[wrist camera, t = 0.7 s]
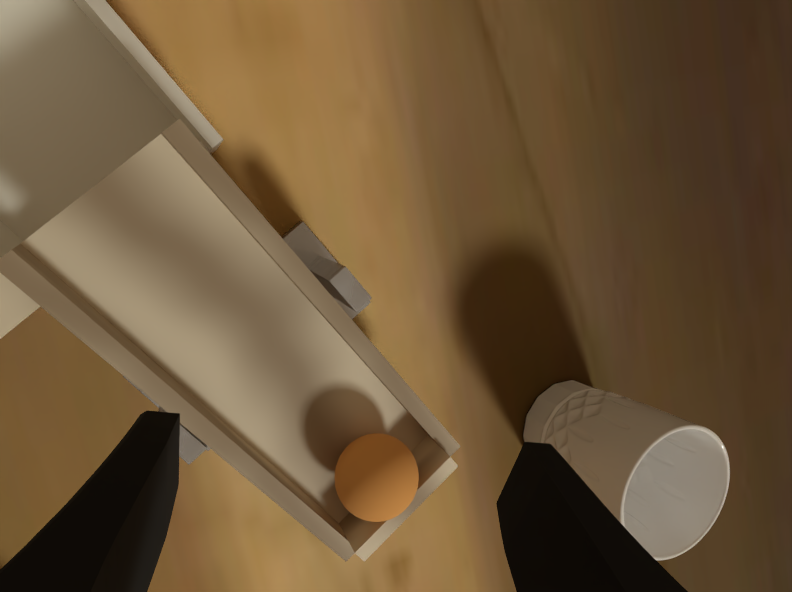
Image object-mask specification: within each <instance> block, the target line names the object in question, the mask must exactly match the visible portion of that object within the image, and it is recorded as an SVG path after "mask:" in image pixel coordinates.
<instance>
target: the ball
mask: <svg viewBox="0 0 792 592" xmlns="http://www.w3.org/2000/svg"><path fill="white" fill-rule="evenodd" d="M334 478H335V487H336V491H337V494H338V497H339V499H340V501H341V502H342V504H343V505H344V507H345V508H346V509H347V510H348V511H349V512H350V513H352V514H353V515H354V516H356V517H358V518H360V519H363V520H366V521H371V522H381V521H387V520H390V519H392V518H394V517H396V516H398V515H399V514H401V513H402V512H403V511H404V510H405V509H406V508H407V507H408V506H409V505H410V503H411V502H412V500H413V499H414V497H415V494H416V491H417V488H418V481H419V473H418V467H417V463H416V460H415V458H414V456H413V454H412V452H411V451H410V450H409V448H408V447H407V446H406V445H405V444H404V443H403V442H401V441H400V440H398V439H397V438H395V437H393V436H390V435H387V434H381V433H373V434H367V435H364V436H361V437H359V438H357V439H356V440H354V441H353V442H351V443H350V444H349V445H348V446H347V447H346V448H345V449H344V451H343V452H342V454H341V455H340V457H339V459H338V462H337V465H336V469H335V477H334Z"/></svg>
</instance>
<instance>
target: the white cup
mask: <svg viewBox="0 0 792 592" xmlns="http://www.w3.org/2000/svg"><path fill="white" fill-rule="evenodd" d="M523 438H524V442H535V443H548V444H551V445H552V446H553V447H554V448H555V449H556V450H557V451H558V452H559V454H560V455H561V456H562V457H563V458H564V459H565V460H566V461H567V463H568V464H569V465H570V466H571V467H572V468H573V469H574V471H575V472H576V473H577V474H578V475H579V476H580V477H581V479H582V480H583V481H584V482H585V483H586V484H587V486H588V487H589V488H590V489H591V490H592V491H593V492H594V494H595V495H596V496H597V497H598V498H599V499H600V500H601V502H602V503H603V504H604V505H605V506H606V507H607V508H608V510H609V511H610V512H611V513H612V514H613V515H614V516H615V517H616V518H617V520H618V521H619V522H620V523H621V524H622V525H623V526H624V527H625V528H626V529H627V531H628V532H629V533H630V534H631V535H632V536H633V537H634V538H635V539H636V540H637V541H638V542H639V543H640V544H641V546H642V547H643V548H644V549H645V550H646V551H647V552H648V553H649V554H650V555H651V556H652V557H653V558H654V559H655V560H667V559H671V558H674V557H676V556H679V555H681V554H683V553H684V552H686V551H688V550H689V549H690V548H692V547H693V546H694V545H696V544H697V543H698V542H699V541H700V540H701V539H702V538H703V537H704V536H705V534H706V533H707V532H708V531H709V530H710V528H711V527H712V525H713V524H714V522H715V521H716V519H717V517H718V515H719V513H720V511H721V509H722V507H723V504H724V501H725V498H726V495H727V491H728V486H729V478H730V466H729V459H728V454H727V451H726V449H725V446H724V444H723V443H722V441H721V440H720V438H719V437H718V436H717V435H716V434H715V433H714V432H713V431H711V430H709V429H708V428H705V427H703V426H700V425H698V424H695V423H692V422H690V421H687V420H685V419H682V418H680V417H677V416H674V415H672V414H669V413H666V412H664V411H661V410H659V409H656V408H654V407H651V406H649V405H646V404H644V403H641V402H637V401H634V400H632V399H629V398H627V397H624V396H621V395H617V394H615V393H613V392H610V391H603V390H600V389H597V388H594V387H592V386H589V385H586V384H583V383H580V382H577V381H574V380H570V381H565V382H561V383H556V384H553V385H552V386H551V387H549V388H548V389H547V390H546V391H544V392H543V393H542V394H540V395H539V396H538V397H537V399H536V400H535V402H534V404H533V405H532V407H531V409H530V410H529V412H528V414H527V416H526V421H525V427H524V433H523Z"/></svg>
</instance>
